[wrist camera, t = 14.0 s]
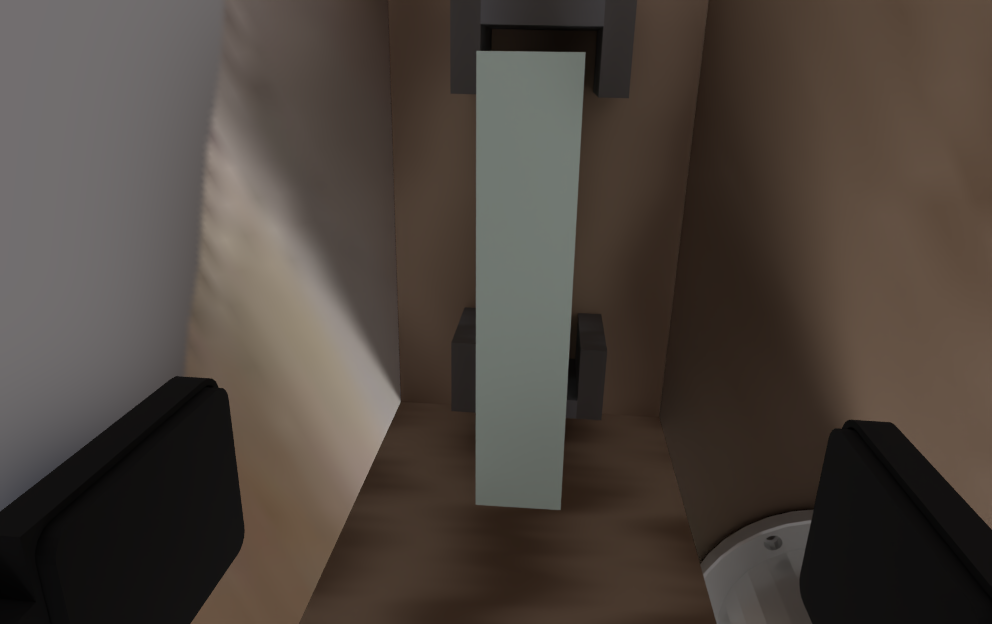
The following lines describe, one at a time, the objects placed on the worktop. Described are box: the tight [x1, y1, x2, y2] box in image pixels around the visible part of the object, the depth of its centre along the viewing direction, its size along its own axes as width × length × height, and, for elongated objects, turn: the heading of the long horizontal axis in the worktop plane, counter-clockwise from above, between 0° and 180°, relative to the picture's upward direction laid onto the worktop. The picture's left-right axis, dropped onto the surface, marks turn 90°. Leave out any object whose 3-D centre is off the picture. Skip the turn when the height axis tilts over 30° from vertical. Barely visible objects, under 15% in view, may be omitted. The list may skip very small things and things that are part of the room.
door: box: [476, 51, 586, 510], centre depth 23 cm, size 2×12×12 cm, turn 179°
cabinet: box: [299, 0, 717, 624], centre depth 21 cm, size 12×22×18 cm, turn 179°
